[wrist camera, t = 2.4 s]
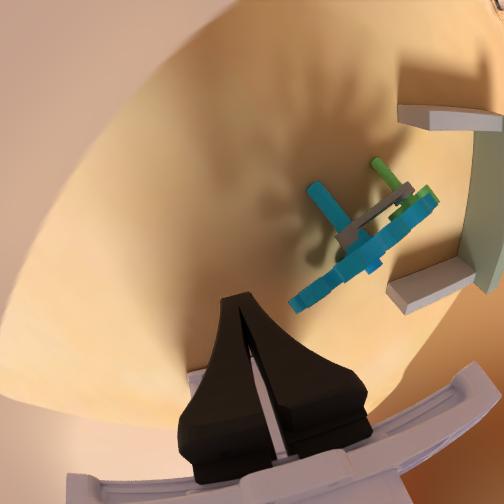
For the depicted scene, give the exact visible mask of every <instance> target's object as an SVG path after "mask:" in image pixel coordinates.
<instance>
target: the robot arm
mask: <svg viewBox="0 0 504 504" xmlns="http://www.w3.org/2000/svg"><path fill="white" fill-rule="evenodd" d="M220 304H221V309H220V320H219V326H218V332H217V336H216V340H215V344H214V348H213V352H212V355H211V358H210V361H209V363H208V366H207V369H202V370H197V371H193V372H189V373H188V374H187V380H188V382H189V383H190V393H191V401H190V402H189V404H188V405H187V407H186V408H185V410H184V411H183V413H182V414H181V416H180V418H179V424H178V436H177V438H178V448H179V453H180V454H181V455H182V456H183V457H184V458H185V459H186V460H187V461H189V462H190V463H191V464H192V466H193V472H194V476H193V477H185V478H175V479H162V480H142V481H104V480H99V479H97V478H96V477H94V476H92V475H87V474H76V473H67V479H66V504H413V503H412V500H411V498H410V496H409V494H408V493H407V491H406V488H405V486H404V484H403V483H402V480H401V478H400V475H401V474H403V473H405V472H407V471H408V470H410V469H412V468H413V467H415V466H417V465H418V464H420V463H422V462H423V461H425V460H426V459H428V458H429V457H431V456H432V455H433V454H435V453H437V452H438V451H440V450H441V449H443V448H444V447H446V446H447V445H448V444H449V443H451V442H452V441H454V440H455V439H457V438H458V437H459V436H461V435H462V434H463V433H465V432H466V431H467V430H469V429H470V428H471V427H472V426H474V425H475V424H476V423H477V422H479V421H480V420H481V419H482V418H483V417H484V415H486V414H487V413H488V412H489V410H490V409H491V408H492V407H493V406H494V405H495V404H496V403H497V402H498V401H499V399H500V398H501V397H502V395H501V394H500V392H499V391H498V389H497V388H496V387H495V386H494V384H493V383H492V382H491V380H490V379H489V377H488V376H487V375H486V374H485V372H484V371H483V370H482V368H481V367H480V366H479V365H478V363H477V362H476V361H473V362H472V363H470V364H469V365H467V366H466V367H464V368H463V369H462V370H460V371H459V372H458V373H457V374H456V375H455V376H454V377H453V379H452V381H451V383H450V384H448V385H446V386H445V387H444V388H442V389H440V390H438V391H437V392H435V393H434V394H432V395H430V396H429V397H427V398H425V399H423V400H422V401H420V402H418V403H416V404H414V405H413V406H411V407H409V408H407V409H405V410H403V411H401V412H399V413H398V414H396V415H394V416H392V417H390V418H387V419H385V420H383V421H381V422H379V423H377V424H375V425H373V426H371V425H370V423H369V421H368V419H367V417H366V416H367V412H366V410H365V409H364V404H365V401H366V398H367V394H368V391H367V389H366V387H365V385H364V384H363V382H362V381H361V380H360V379H359V377H358V376H357V375H356V374H355V373H354V372H353V371H352V370H350V369H347V368H345V367H342V366H340V365H338V364H335V363H333V362H331V361H329V360H327V359H325V358H323V357H321V356H320V355H318V354H316V353H315V352H313V351H311V350H309V349H308V348H306V347H305V346H303V345H302V344H300V343H299V342H298V341H296V340H295V339H294V338H292V337H291V336H290V335H288V334H287V333H286V332H285V331H284V330H283V329H282V328H280V327H279V326H278V325H277V324H276V323H275V322H274V321H273V320H272V319H271V318H270V317H269V316H268V315H267V314H266V313H265V311H264V310H263V309H262V308H261V307H260V305H259V304H258V303H257V302H256V300H255V299H254V297H253V296H252V294H251V293H250V292H245V293H242V294H238V295H234V296H230V297H226V298H222V299H221V301H220ZM248 345H249V346H248ZM249 348H250V350H251V353H252V355H253V357H252V358H251V357H250V352H249Z"/></svg>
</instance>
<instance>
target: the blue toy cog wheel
mask: <svg viewBox="0 0 504 504" xmlns="http://www.w3.org/2000/svg"><path fill="white" fill-rule="evenodd" d="M371 165H372V166H373V168H374V169H375V170H376V171H377V172H378V174H379V175H380V176H381V177H382V178H383V180H384V181H385V182H386V183H387V184H388V186H389V187H390V188H391V189H392V191H393V192H392V193H391V194H390V195H388V196H387V197H386V198H384V199H383V200H382V201H380V202H379V203H378V204H376V205H375V206H374V207H372V208H371V209H370V210H368V211H367V212H366V213H364V214H363V215H362V216H360V217H359V218H357V219H356V220H355V221H353V222H352V221H351V220H350V218H349V217H348V216H347V215H346V213H345V212H344V211H343V209H342V208H341V207H340V206H339V204H338V203H337V202H336V201H335V199H334V198H333V197H332V196H331V194H330V193H329V192H328V191H327V189H326V188H325V187H324V186H323V185H322V183H321V182H320V181H317V182H315V183H313V184H312V185H311V186H310V187H309V188H308V189H307V191H306V192H307V193H308V195H309V196H310V197H311V198H312V200H313V201H314V202H315V203H316V205H317V206H318V207H319V208H320V210H321V211H322V212H323V214H324V215H325V216H326V217H327V219H328V220H329V221H330V223H331V224H332V225H333V227H334V228H335V229H336V231H337V232H338V234H337V235H336V236H335V238H336V239H337V241H338V242H339V244H340V245H341V246H342V248H343V249H344V250H345V252H346V253H347V255H346V256H345V258H344V259H343V260H342V261H340V262H339V263H338V264H336V265H335V266H334V267H333V269H332V270H331V271H329V272H328V273H327V274H325V275H324V276H322V277H320V278H319V279H317V280H316V281H314V282H313V283H312V284H310V285H309V286H308V287H306V288H305V289H303V290H302V291H301V292H299V293H298V295H296V296H295V297H294V298H292V299H291V300H290V301H288V303H289V304H290V306H291V307H292V308H293V310H294V311H295V313H296V314H298V313H300V312H301V311H303V310H304V309H306V308H307V307H308V308H309V307H310V306H312V305H314V304H315V303H317V302H318V301H319V300H321V299H322V298H324V297H325V296H326V295H328V294H329V293H330V292H331V291H332V290H333V289H334V288H335V287H337V286H338V285H339V284H341V283H342V282H344V283H346V282H347V281H349V280H350V279H351V278H353V277H354V276H355V275H357V274H359V273H360V272H362V271H363V270H366V272H367V273H368V275H369V274H371V273H372V272H374V271H375V270H376V269H378V268H379V267H380V266H381V265H382V264H383V263H382V262H381V261H380V259H379V258H380V257H381V256H382V255H384V254H385V253H386V252H385V251H386V250H388V249H390V248H391V247H393V246H394V245H395V244H397V243H398V242H399V241H400V240H401V239H402V238H404V237H405V236H406V235H407V234H408V233H409V232H410V231H411V229H412V228H413V227H415V226H416V225H417V224H418V223H420V222H421V221H422V220H424V219H425V218H426V217H427V216H428V215H429V214H431V213H432V211H433V209H434V208H435V207H436V206H437V205H438V203H439V202H440V201H439V199H438V198H437V197H436V195H435V194H434V193H433V191H432V190H431V189H430V188H429V186H428V185H426V186H424V187H423V188H422V189H421V190H420V191H419V192H417V193H416V194H415V195H414V196H413V195H412V193H413V192H414V191H415V189H414V188H413V187H412V186H411V184H410V183H409V182H408V181H407V182H406V183H404V184H403V185H402V184H401V183H400V182H399V180H398V179H397V178H396V177H395V175H394V174H393V173H392V172H391V171H390V169H389V168H388V167H387V166H386V165H385V164H384V162H383V161H382V160H381V159H380V158H379V157H377V158H375V159H374V160H373V161H372V162H371ZM393 203H394V204H395V206H398V205H399V204H401V205H402V206H401V207H400V208H399V209H397V210H396V211H395V212H394V213H392V214H391V215H390V216H389V217H388V218H389V220H390V221H391V222H390V223H389V224H388V225H386V226H385V227H384V228H383V229H382V230H380V231H379V232H378V233H377V234H376V235H375V236H374V235H371V236H369V235H368V233H367V232H366V231H365V229H364V228H363V226H365V225H366V224H367V223H369V222H370V221H371V220H373V219H374V218H375V217H376V216H378V215H379V214H380V213H382V212H383V211H384V210H386V209H387V208H388V207H390V206H391V205H392V204H393Z"/></svg>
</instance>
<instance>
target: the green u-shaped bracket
mask: <svg viewBox="0 0 504 504" xmlns="http://www.w3.org/2000/svg"><path fill="white" fill-rule="evenodd" d="M397 105H398V122H400V123H404V124H407V125H411V126H415V127H418V128H422V129H425V130H429V131H444V130H468V131H474V149H473V162H472V172H471V181H470V189H469V196H468V203H467V209H466V215H465V220H464V226H463V231H462V235H461V240H460V244H459V249H458V253H457V256H456V257H453V258H451V259H448V260H446V261H443V262H441V263H438V264H436V265H433V266H431V267H428V268H426V269H423V270H421V271H418V272H415V273H413V274H410V275H408V276H405V277H402V278H399V279H397V280H394V281H391V282H389V283H388V285H387V291H386V294H387V295H388V296H389V297H390V299H391V300H392V301H393V302H394V303H395V304H396V306H397V307H398V308H399V309H400V310H401V311H402V313H403V314H404V315H407V314H410V313H412V312H414V311H416V310H418V309H421V308H423V307H425V306H427V305H429V304H431V303H434V302H436V301H438V300H440V299H442V298H444V297H446V296H448V295H450V294H452V293H454V292H456V291H458V290H460V289H462V288H464V287H466V286H468V285H469V284H471V283H474V284H475V285H476V286H477V287H479V288H480V289H481V290H482V291H483V292H484V293H485V294H488V293H490V292H491V291H493V290H494V289H496V288H497V286H498V284H499V281H500V278H501V276H502V273H503V270H504V115H501V114H498V113H494V112H491V111H487V110H480V109H471V108H461V107H450V106H434V105H407V104H397Z"/></svg>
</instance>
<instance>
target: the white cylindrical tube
mask: <svg viewBox="0 0 504 504" xmlns="http://www.w3.org/2000/svg"><path fill="white" fill-rule="evenodd" d="M491 1H492V3H493V6H494V8H495V10H496V12H497V14H498V16H499V17H500V19H501V20H502V22H503V23H504V0H491Z"/></svg>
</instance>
